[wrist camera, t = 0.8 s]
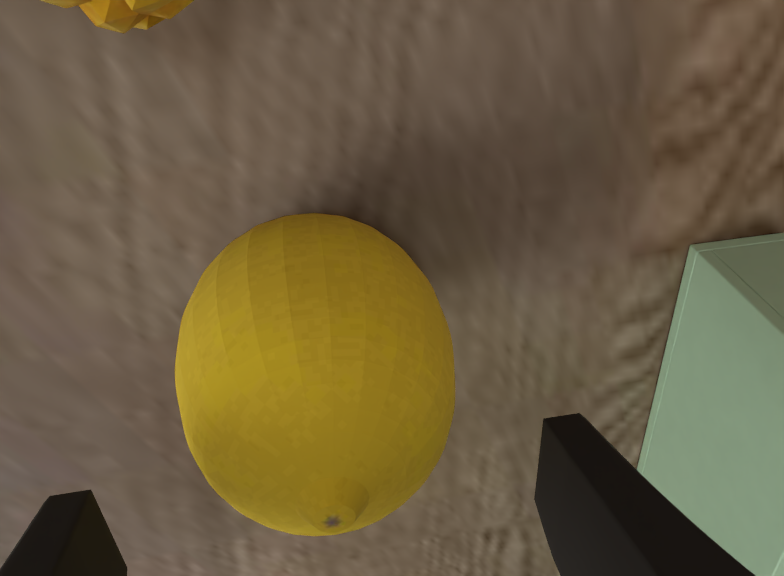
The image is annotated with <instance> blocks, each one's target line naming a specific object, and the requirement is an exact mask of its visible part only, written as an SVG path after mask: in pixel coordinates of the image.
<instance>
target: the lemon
mask: <svg viewBox="0 0 784 576" xmlns="http://www.w3.org/2000/svg"><path fill="white" fill-rule="evenodd" d="M175 384H176V392H177V398H178V403H179V408H180V413H181V418H182V423H183V428H184V432H185V436H186V439H187V443H188V446H189V449H190V451H191V453H192V455H193V457H194V459H195V461H196V463H197V464H198V466H199V468H200V469H201V471H202V473H203V474H204V476H205V478H206V479H207V481H208V483H209V484H210V485H211V486H212V488H213V489H214V490H215V491H216V492H217V494H219V495H220V496H221V497H222V498H223V499H224V500H225V501H227V502H228V503H229V504H230V505H231V506H232V507H233V508H235V509H236V510H237V511H239V512H240V513H242V514H243V515H245V516H246V517H248V518H250V519H252V520H254V521H256V522H258V523H260V524H262V525H264V526H267V527H269V528H272V529H275V530H279V531H283V532H286V533H290V534H294V535H307V536H324V535H336V534H341V533H345V532H349V531H353V530H358V529H360V528H363V527H365V526H368V525H370V524H372V523H375V522H377V521H379V520H381V519H382V518H384V517H385V516H387V515H388V514H390V513H391V512H393V511H395V510H396V509H397V508H399V507H400V506H401V505H403V504H404V503H405V502H406V501H407V500H408V499H409V498H410V497H411V496H412V495H413V494H414V493H415V492H416V491H417V490H418V489H419V488H420V487H421V486H422V485H423V483H424V482H425V481H426V480H427V478H428V477H429V475H430V474H431V472H432V470H433V469H434V467H435V465H436V464H437V462H438V461H439V459H440V457H441V454H442V452H443V450H444V448H445V445H446V441H447V437H448V433H449V430H450V426H451V422H452V418H453V413H454V405H455V374H454V357H453V346H452V340H451V335H450V331H449V328H448V324H447V321H446V319H445V316H444V314H443V312H442V309H441V307H440V304H439V302H438V299H437V297H436V295H435V292H434V290H433V288H432V286H431V284H430V283H429V281H428V279H427V278H426V276H425V275H424V274H423V273H422V271H421V270H420V269H419V268H418V267H417V265H416V264H415V263H414V262H413V261H412V259H411V258H410V257H409V256H408V255H407V253H406V252H405V251H404V250H403V249H402V248H401V247H400V246H399V245H398V244H396V243H395V242H393V241H392V240H390V239H389V238H388V237H386V236H385V235H383V234H382V233H380V232H379V231H377V230H376V229H375V228H373V227H371V226H369V225H366V224H363V223H360V222H358V221H355V220H352V219H349V218H347V217H344V216H338V215H329V214H320V213H308V214H298V215H288V216H283V217H280V218H277V219H274V220H271V221H268V222H265V223H263V224H260V225H257V226H255V227H254V228H252V229H251V230H249V231H248V232H246V233H244V234H243V235H241V236H240V237H238V238H237V239H235V240H233V241H232V242H231V243H230V244H228V245H227V246H226V248H225V249H224V250H223V251H222V252H221V253H220V254H219V255H218V256H217V257H216V258H215V259H214V260H213V261H212V263H211V264H210V265H209V266H208V267H207V268H206V270H205V271H204V272H203V274H202V276H201V278H200V280H199V282H198V284H197V286H196V288H195V290H194V292H193V294H192V296H191V298H190V300H189V302H188V304H187V306H186V308H185V311H184V314H183V317H182V321H181V326H180V331H179V338H178V346H177V353H176V362H175Z"/></svg>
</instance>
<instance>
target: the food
mask: <svg viewBox="0 0 784 576" xmlns="http://www.w3.org/2000/svg"><path fill="white" fill-rule="evenodd" d="M41 1H44V2H47V3H51V4H54V5H57V6H61V7H64V8H69V7H73V6H77V5H79V7H80V8H81V9H82V10H83V11H84V13H85V14H86V15H87V16H88V17H89V18H90V20H91V21H92V22H93V23H94V24H95V26H97V27H101V28H105V29H109V30H113V31H117V32H120V33H126V32H127V31H128V30H130V29H131V28H132V27H134V28H140V29H148V28H150V27H152V26H153V25H155V24H157V23H159V22H160V21H162V20H164V19H166V18H168V19H171V18H172V17H174V16H175V15H176V14H177V13H179V12H180V11H181V10H182V9H184V8H185V7H186V6H188V5H189V4H190V3H191V2H193V1H194V0H41Z"/></svg>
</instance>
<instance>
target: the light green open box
mask: <svg viewBox="0 0 784 576" xmlns="http://www.w3.org/2000/svg"><path fill="white" fill-rule="evenodd" d="M637 471H638V472H639V473H640V474H641V475H642V476H643V477H644V478H646V479H647V480H648V481H649V482H650V483H651V484H652V485H653V486H654V487H655V488H656V489H657V490H658V491H659V492H660V493H661V494H662V495H663V496H665V497H666V498H667V499H668V500H669V501H670V502H671V503H672V504H673V505H674V506H675V507H677V508H678V509H679V510H680V511H681V512H682V513H683V514H684V515H685V516H686V517H687V518H689V519H690V520H691V521H692V522H693V523H694V524H695V525H696V526H697V527H699V528H700V529H701V530H702V531H703V532H704V533H705V534H707V535H708V536H709V537H710V538H711V539H712V540H713V541H715V542H716V543H717V544H718V545H719V546H721V547H722V548H723V549H724V550H725V551H726V552H728V553H729V554H730V555H731V556H732V557H734V558H735V559H736V560H737V561H738V562H740V563H741V564H742V565H743V566H744V567H746V568H747V569H748V570H749V571H751V572H752V573H753V574H754V575H756V576H784V233H776V234H769V235H761V236H754V237H746V238H738V239H731V240H723V241H716V242H708V243H700V244H693V245H690V247H689V252H688V256H687V260H686V264H685V269H684V273H683V277H682V281H681V285H680V290H679V294H678V298H677V302H676V306H675V311H674V315H673V319H672V323H671V327H670V332H669V336H668V340H667V344H666V349H665V353H664V357H663V361H662V365H661V370H660V374H659V378H658V382H657V386H656V391H655V395H654V399H653V403H652V408H651V412H650V416H649V420H648V424H647V429H646V433H645V437H644V441H643V445H642V450H641V454H640V458H639V462H638V466H637Z"/></svg>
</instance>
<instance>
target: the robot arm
mask: <svg viewBox="0 0 784 576" xmlns="http://www.w3.org/2000/svg"><path fill="white" fill-rule="evenodd" d="M534 499H535V503H536V506H537V509H538V512H539V516H540V519H541V522H542V525H543V529H544V532H545V535H546V538H547V541H548V544H549V547H550V550H551V553H552V556H553V559H554V561H555V564H556V566H557V568H558V571H559V573H560V575H561V576H756V575H754V574H753V573H752V572H751V571H749V570H748V569H747V568H746V567H744V566H743V565H742V564H741V563H740V562H738V561H737V560H736V559H735V558H734V557H732V556H731V555H730V554H729V553H728V552H726V551H725V550H724V549H723V548H722V547H721V546H719V545H718V544H717V543H716V542H715V541H713V540H712V539H711V538H710V537H709V536H708V535H707V534H705V533H704V532H703V531H702V530H701V529H700V528H699V527H697V526H696V525H695V524H694V523H693V522H692V521H691V520H690V519H689V518H687V517H686V516H685V515H684V514H683V513H682V512H681V511H680V510H679V509H678V508H677V507H675V506H674V505H673V504H672V503H671V502H670V501H669V500H668V499H667V498H666V497H665V496H663V495H662V494H661V493H660V492H659V491H658V490H657V489H656V488H655V487H654V486H653V485H652V484H651V483H650V482H649V481H648V480H647V479H646V478H644V477H643V476H642V475H641V474H640V473H639V472H638V471H637V470H636V469H635V468H634V467H633V466H632V465H631V464H630V463H629V462H628V461H627V460H626V459H625V458H624V457H623V456H622V455H621V454H620V453H619V452H618V451H617V450H616V449H615V448H614V447H613V446H612V445H611V444H610V443H609V442H608V441H607V440H606V439H605V438H604V437H603V436H602V435H601V434H600V433H599V432H598V431H597V430H596V429H595V428H594V427H593V426H592V424H591V423H590V422H589V421H588V420H587V419H586V418H585V417H583V416H582V415H581V414H580V413H577V414H571V415H564V416H558V417H552V418H545V419H544V420H543V428H542V437H541V446H540V454H539V463H538V472H537V481H536V489H535V498H534ZM0 576H127V566H126V564H125V562H124V560H123V558H122V556H121V553H120V551H119V549H118V547H117V545H116V543H115V540H114V538H113V536H112V534H111V532H110V530H109V528H108V525H107V523H106V521H105V519H104V517H103V515H102V512H101V510H100V508H99V506H98V504H97V502H96V499H95V497H94V495H93V493H92V491H91V490H86V491H79V492H73V493H66V494H60V495H54V496H49V498H48V499H47V500H46V501H45V502H44V504H43V505H42V507H41V508H40V510H39V511H38V513H37V514H36V516H35V517H34V519H33V520H32V522H31V523H30V525H29V526H28V528H27V530H26V531H25V533H24V534H23V536H22V537H21V539H20V540H19V542H18V543H17V545H16V546H15V548H14V549H13V551H12V552H11V554H10V555H9V557H8V558H7V560H6V561H5V563H4V564H3V566H2V567H1V569H0Z"/></svg>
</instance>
